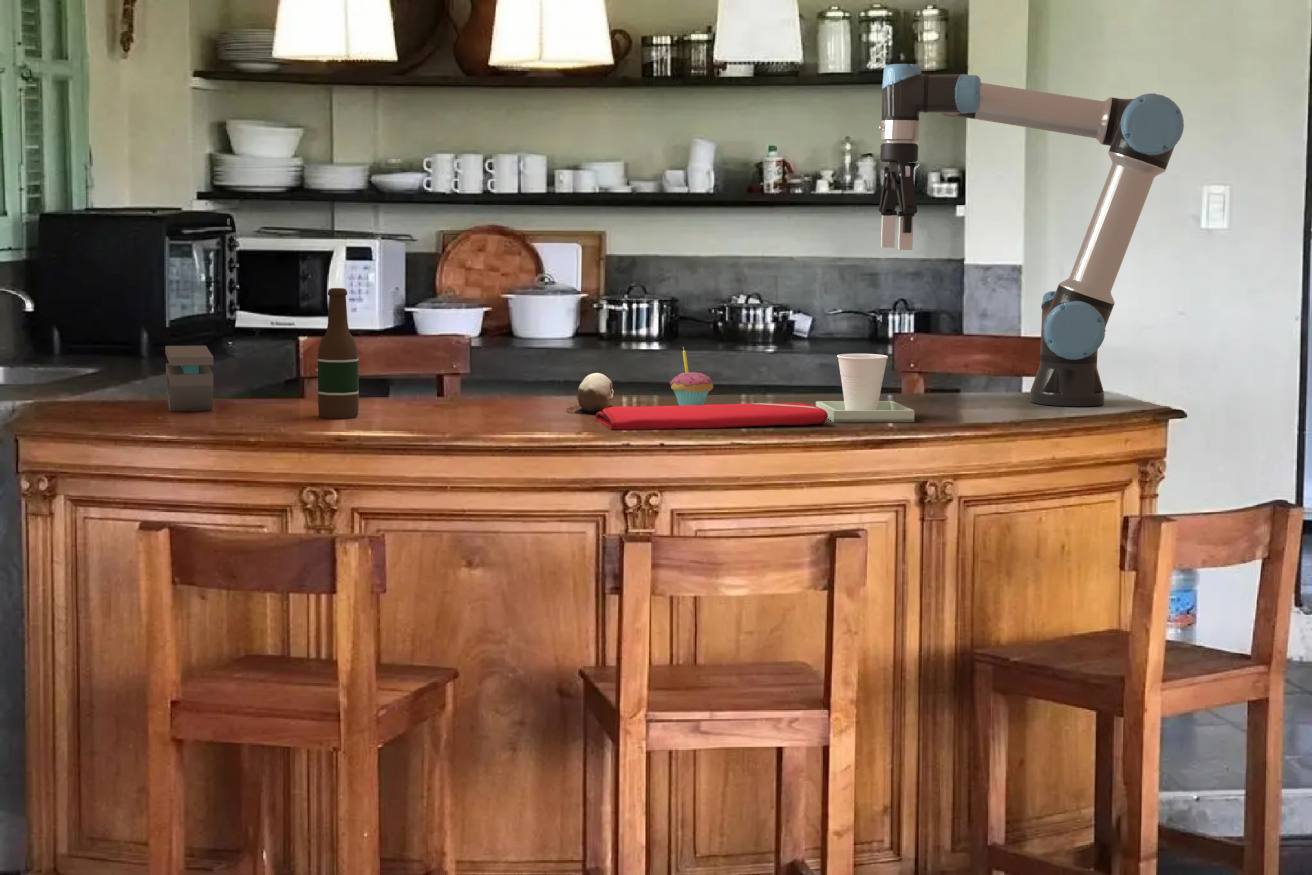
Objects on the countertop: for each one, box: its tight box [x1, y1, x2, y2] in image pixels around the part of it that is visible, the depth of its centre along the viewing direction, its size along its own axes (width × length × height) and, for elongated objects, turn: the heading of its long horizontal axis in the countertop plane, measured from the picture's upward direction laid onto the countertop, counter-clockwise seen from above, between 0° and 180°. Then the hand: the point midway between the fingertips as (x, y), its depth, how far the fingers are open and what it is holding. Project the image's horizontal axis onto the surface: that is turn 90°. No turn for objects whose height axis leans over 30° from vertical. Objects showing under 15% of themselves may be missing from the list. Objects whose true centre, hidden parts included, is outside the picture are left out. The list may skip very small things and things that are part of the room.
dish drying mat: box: [595, 402, 828, 431], centre depth 347 cm, size 16×41×4 cm, turn 103°
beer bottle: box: [317, 287, 360, 420], centre depth 347 cm, size 8×8×24 cm
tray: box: [815, 400, 915, 423], centre depth 359 cm, size 16×16×2 cm
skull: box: [566, 372, 620, 416], centre depth 362 cm, size 12×10×10 cm
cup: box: [836, 353, 889, 410], centre depth 361 cm, size 10×10×11 cm
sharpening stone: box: [164, 345, 214, 412], centre depth 360 cm, size 25×8×11 cm, turn 17°
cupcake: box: [669, 346, 714, 405], centre depth 371 cm, size 9×8×12 cm
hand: (896, 248), depth 377 cm, fingers open, 13 cm apart
